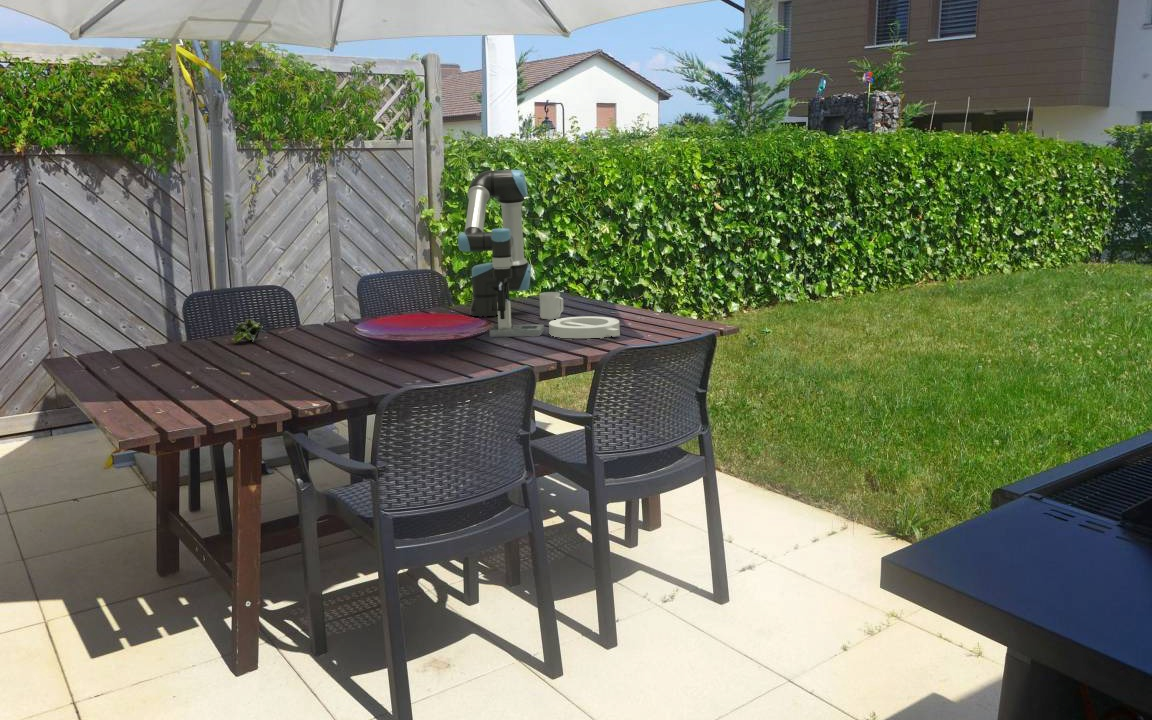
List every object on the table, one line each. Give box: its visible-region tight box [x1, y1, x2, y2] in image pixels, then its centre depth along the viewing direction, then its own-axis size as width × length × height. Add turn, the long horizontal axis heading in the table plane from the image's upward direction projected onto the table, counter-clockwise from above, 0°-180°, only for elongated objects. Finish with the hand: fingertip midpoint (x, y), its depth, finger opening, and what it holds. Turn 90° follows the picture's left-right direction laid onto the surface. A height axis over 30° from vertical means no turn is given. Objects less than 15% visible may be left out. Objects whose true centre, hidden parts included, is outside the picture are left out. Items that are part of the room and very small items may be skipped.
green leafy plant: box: [232, 318, 266, 343], centre depth 371 cm, size 11×11×12 cm
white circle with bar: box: [548, 315, 621, 339], centre depth 372 cm, size 28×28×5 cm
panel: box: [489, 323, 545, 338], centre depth 375 cm, size 13×20×2 cm, turn 84°
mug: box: [538, 291, 564, 321], centre depth 407 cm, size 12×9×11 cm
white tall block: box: [497, 299, 512, 329], centre depth 374 cm, size 4×4×14 cm
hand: (504, 325), depth 375 cm, fingers open, 6 cm apart
